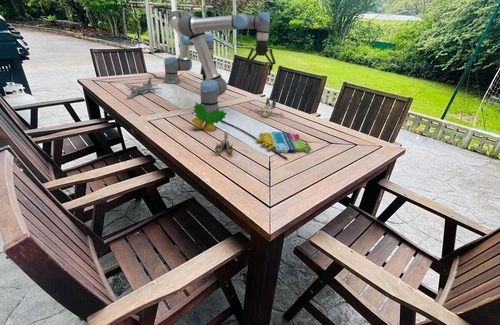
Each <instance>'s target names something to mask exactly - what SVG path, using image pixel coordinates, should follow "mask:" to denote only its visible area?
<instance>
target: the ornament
mask: <svg viewBox="0 0 500 325" xmlns="http://www.w3.org/2000/svg"><path fill="white" fill-rule="evenodd" d="M219 110H220V108H219V109H217V110H216V111H214V110H212V112H211V113H208V112H206V109H204V106H201V103H198V102H195V105H194V106H193V112H194V113H195V118H192V119H191V122H192V123H193V125H195V127H197V128H198V129H202V130H203V131H206V132H212V131H213V132H214V131H215V130H216V126H215V124H218V123H219V122H222V121H223V119H226V115H227V114H228V113H227V112H224V110H223V109H221V110H220V111H219ZM207 113H208V115H207ZM214 123H215V124H214ZM222 123H223V122H222Z"/></svg>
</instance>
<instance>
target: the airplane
mask: <svg viewBox="0 0 500 325" xmlns="http://www.w3.org/2000/svg"><path fill="white" fill-rule="evenodd" d="M152 78H153V77H152V75H150V76H149V78H148V80H147V82H146V83H145V82H142V86H141V85H133V84H127V85H126V86H127V87H131V88H130V91H131V92H130V93H129V94H128V95H127V97H126V99H132V98H134V97H136V96H137V95H140V94H142V95H145V94H146V93H148V92H150V91H151V93H153V92H155V90H162V87H161V88H160V87H155V86H157V84H154V83H153V84H152Z"/></svg>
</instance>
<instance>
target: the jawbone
mask: <svg viewBox="0 0 500 325" xmlns="http://www.w3.org/2000/svg"><path fill="white" fill-rule="evenodd" d="M223 135H224V136H223V140H222V139H221V142H220V144H218V142H215V144H216V146H215V148H214V149H215V152H214V154H215V155H217V156H218V155H220V153H221V152H223V151H224V150H226V152H227V153H228V155H229V156H233V155H234V154H233V153H234V148H233V144H234V143H230V140H228V139H229V138H228V137H229V136H228V135H229V133H228V131H226V132H224V134H223Z"/></svg>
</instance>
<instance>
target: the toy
mask: <svg viewBox="0 0 500 325" xmlns="http://www.w3.org/2000/svg"><path fill="white" fill-rule="evenodd" d="M276 105H277V100H276V98H274V99H273V101H272V103H270V99H269V97H267V98H266V101H265V106H263V108H262V109H253V108H252V107H250V108H247V110H248V112H255V113H256V112H257V113H260V114H259V116H261V117H263V118H269V116H270V115H269V114H271V115H274V116H275V115H277V116H278V115H279V116H280V117H284V116H285V113H284V112H283V111H281V112H276V111H272V110H273V109H272V108H275V107H276Z"/></svg>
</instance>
